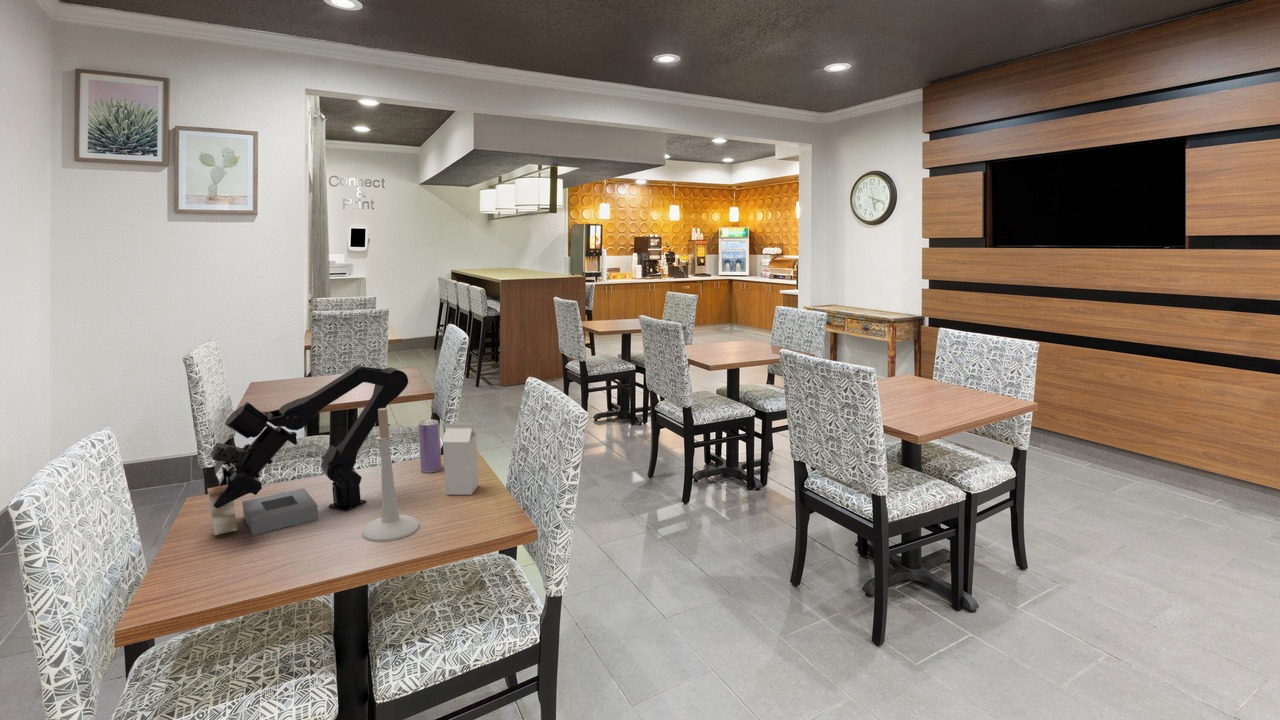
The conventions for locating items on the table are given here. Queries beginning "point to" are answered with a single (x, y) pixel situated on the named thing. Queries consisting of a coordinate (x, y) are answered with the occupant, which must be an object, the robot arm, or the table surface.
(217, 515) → the peg
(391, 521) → the candlestick
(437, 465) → the beverage can
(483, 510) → the table surface
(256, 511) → the socket block
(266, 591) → the table surface
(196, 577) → the table surface
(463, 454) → the milk carton
